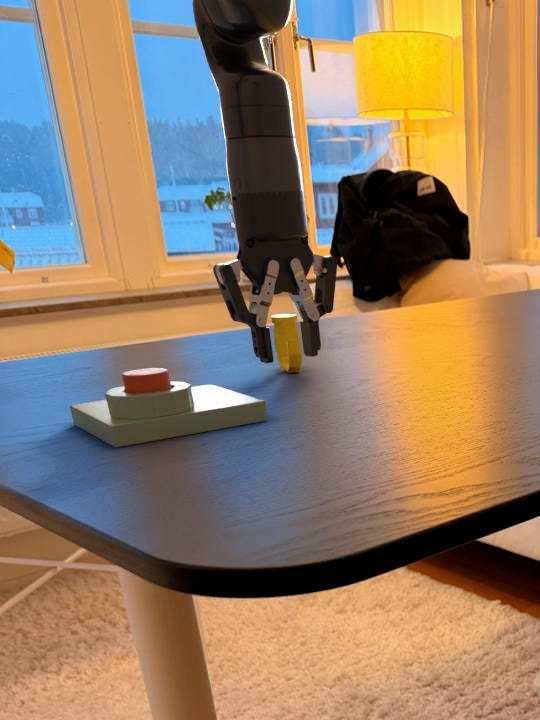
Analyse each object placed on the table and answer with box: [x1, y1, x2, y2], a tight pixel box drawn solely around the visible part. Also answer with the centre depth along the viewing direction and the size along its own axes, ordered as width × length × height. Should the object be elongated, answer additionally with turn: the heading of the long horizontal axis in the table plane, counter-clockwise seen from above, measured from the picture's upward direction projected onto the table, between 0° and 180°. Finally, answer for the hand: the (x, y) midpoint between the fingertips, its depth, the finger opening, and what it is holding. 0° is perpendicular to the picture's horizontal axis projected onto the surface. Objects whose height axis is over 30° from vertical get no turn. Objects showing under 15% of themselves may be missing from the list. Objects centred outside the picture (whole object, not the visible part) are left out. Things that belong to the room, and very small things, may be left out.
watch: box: [270, 313, 303, 374], centre depth 98 cm, size 6×3×6 cm, turn 27°
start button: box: [121, 367, 172, 394], centre depth 72 cm, size 4×4×2 cm
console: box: [69, 380, 268, 448], centre depth 76 cm, size 13×12×4 cm
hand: (289, 358), depth 99 cm, fingers open, 5 cm apart
